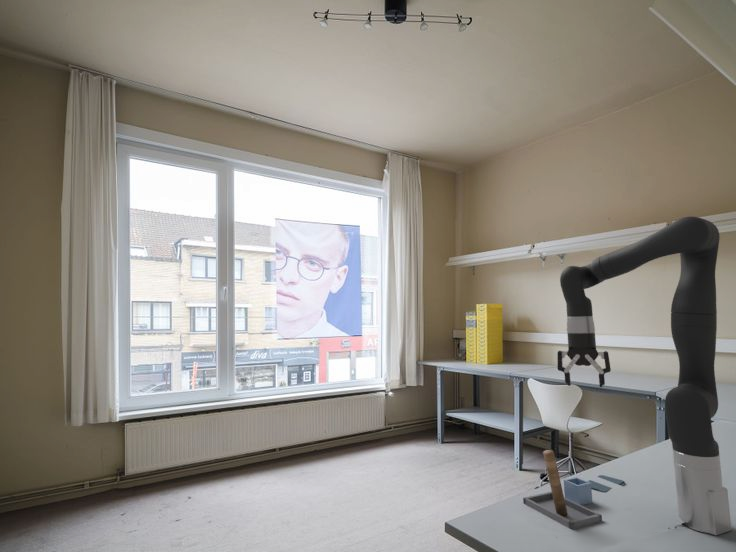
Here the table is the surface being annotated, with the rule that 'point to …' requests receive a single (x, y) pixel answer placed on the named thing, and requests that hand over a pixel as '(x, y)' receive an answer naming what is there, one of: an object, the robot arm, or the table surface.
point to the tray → (576, 512)
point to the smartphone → (604, 488)
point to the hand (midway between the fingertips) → (584, 386)
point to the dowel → (555, 482)
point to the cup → (578, 491)
